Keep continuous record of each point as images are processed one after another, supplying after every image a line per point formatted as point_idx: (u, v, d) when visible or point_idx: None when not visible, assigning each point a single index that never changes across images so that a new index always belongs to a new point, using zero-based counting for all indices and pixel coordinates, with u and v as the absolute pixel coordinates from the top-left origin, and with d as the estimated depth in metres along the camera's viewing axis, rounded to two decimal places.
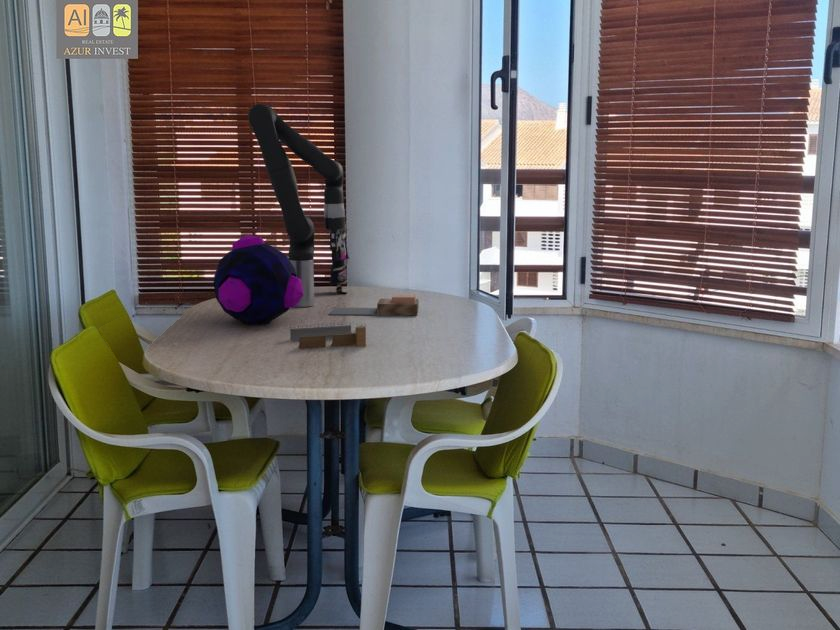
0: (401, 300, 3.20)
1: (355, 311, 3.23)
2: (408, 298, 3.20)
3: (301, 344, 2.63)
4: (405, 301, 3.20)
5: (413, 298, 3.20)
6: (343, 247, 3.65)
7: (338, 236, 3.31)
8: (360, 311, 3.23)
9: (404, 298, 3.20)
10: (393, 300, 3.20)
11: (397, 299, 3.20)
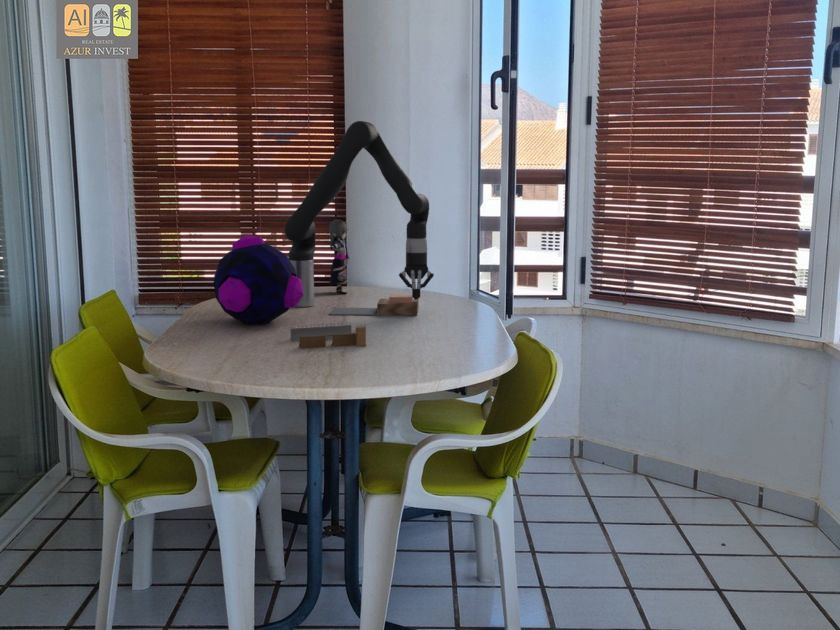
0: (398, 300, 3.20)
1: (355, 311, 3.23)
2: (405, 298, 3.20)
3: (301, 344, 2.63)
4: (402, 301, 3.20)
5: (410, 298, 3.20)
6: (343, 247, 3.65)
7: None
8: (360, 311, 3.23)
9: (401, 298, 3.20)
10: (390, 300, 3.21)
11: (394, 299, 3.20)
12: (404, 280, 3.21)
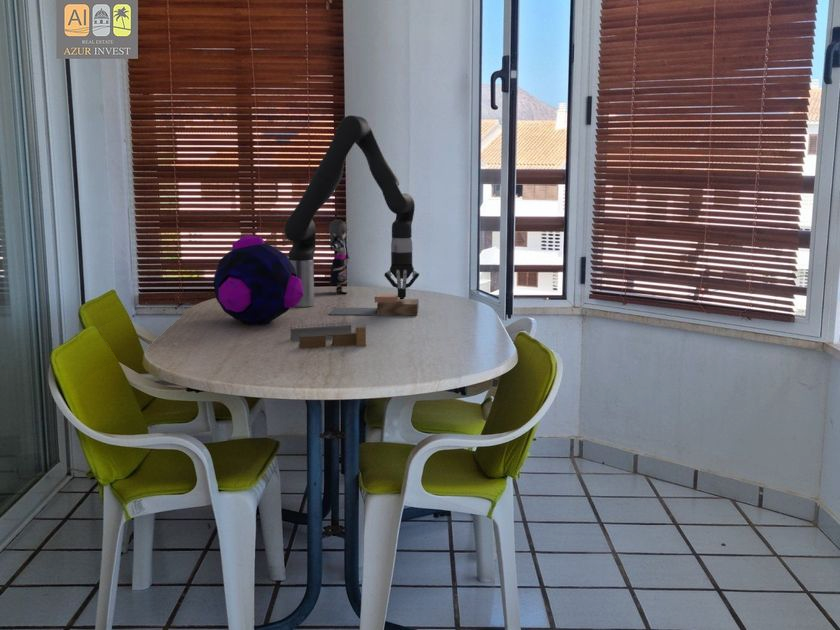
0: (384, 300, 3.21)
1: (355, 311, 3.23)
2: (390, 298, 3.21)
3: (301, 344, 2.63)
4: (388, 301, 3.21)
5: (395, 298, 3.20)
6: (343, 247, 3.65)
7: None
8: (360, 311, 3.23)
9: (386, 298, 3.21)
10: (376, 300, 3.21)
11: (379, 299, 3.21)
12: (389, 280, 3.21)
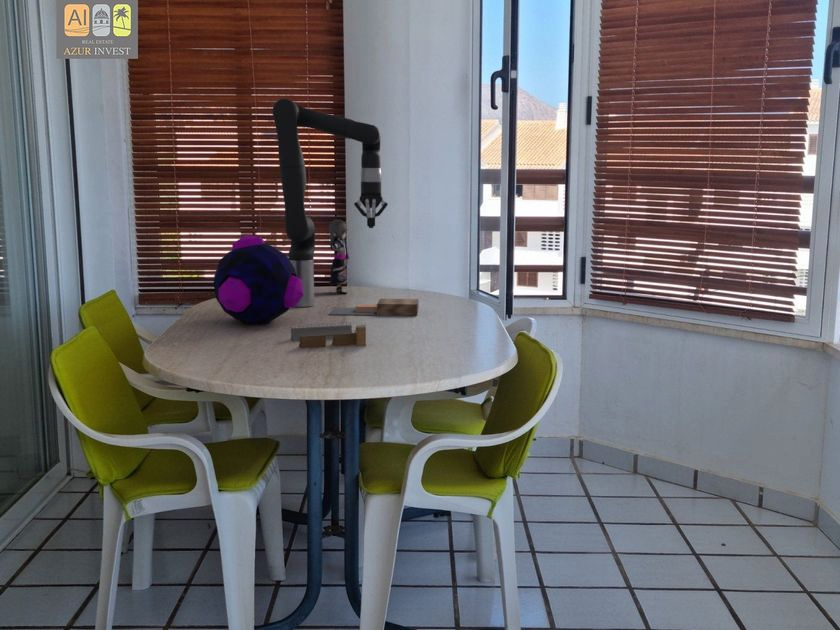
0: (364, 309, 3.22)
1: (355, 311, 3.23)
2: (371, 307, 3.22)
3: (301, 343, 2.63)
4: (368, 310, 3.22)
5: (376, 307, 3.21)
6: (343, 247, 3.65)
7: None
8: None
9: (367, 307, 3.22)
10: (357, 309, 3.22)
11: (360, 309, 3.22)
12: (359, 209, 3.32)
